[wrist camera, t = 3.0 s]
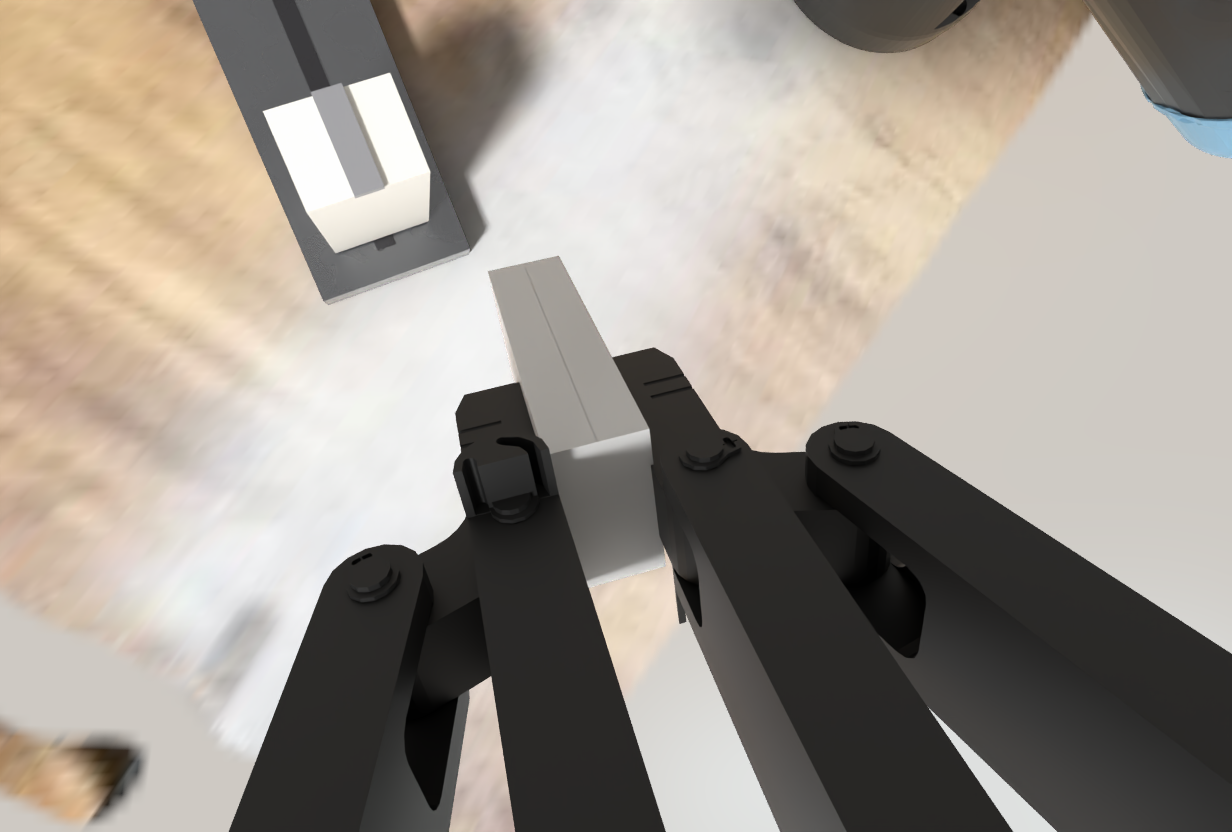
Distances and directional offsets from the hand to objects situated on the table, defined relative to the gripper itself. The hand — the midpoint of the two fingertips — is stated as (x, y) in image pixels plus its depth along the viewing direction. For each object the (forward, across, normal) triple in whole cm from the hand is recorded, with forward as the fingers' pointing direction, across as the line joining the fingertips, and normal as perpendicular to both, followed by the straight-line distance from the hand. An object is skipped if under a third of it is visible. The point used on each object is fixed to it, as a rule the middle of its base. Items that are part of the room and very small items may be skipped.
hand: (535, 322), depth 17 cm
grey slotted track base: (+32, +6, 0) cm, 32 cm away
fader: (+26, +5, +5) cm, 27 cm away
